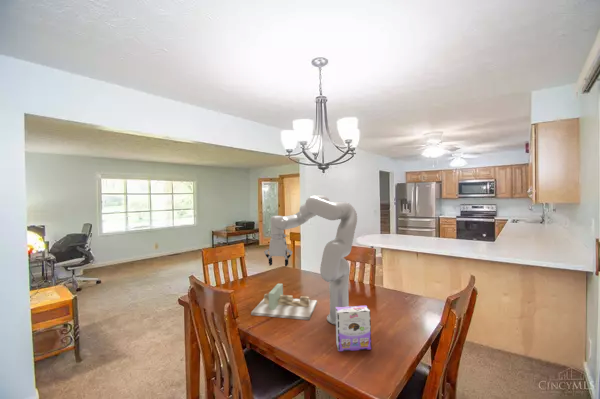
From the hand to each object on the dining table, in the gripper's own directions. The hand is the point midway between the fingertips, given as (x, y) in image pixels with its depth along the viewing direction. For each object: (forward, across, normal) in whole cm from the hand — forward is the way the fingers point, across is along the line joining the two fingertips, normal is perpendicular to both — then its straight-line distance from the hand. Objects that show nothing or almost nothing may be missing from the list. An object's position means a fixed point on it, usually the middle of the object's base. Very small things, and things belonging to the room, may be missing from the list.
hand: (278, 265), depth 163 cm
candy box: (+23, -45, +39) cm, 63 cm away
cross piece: (+21, 0, +6) cm, 21 cm away
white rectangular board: (+22, -6, +8) cm, 24 cm away
